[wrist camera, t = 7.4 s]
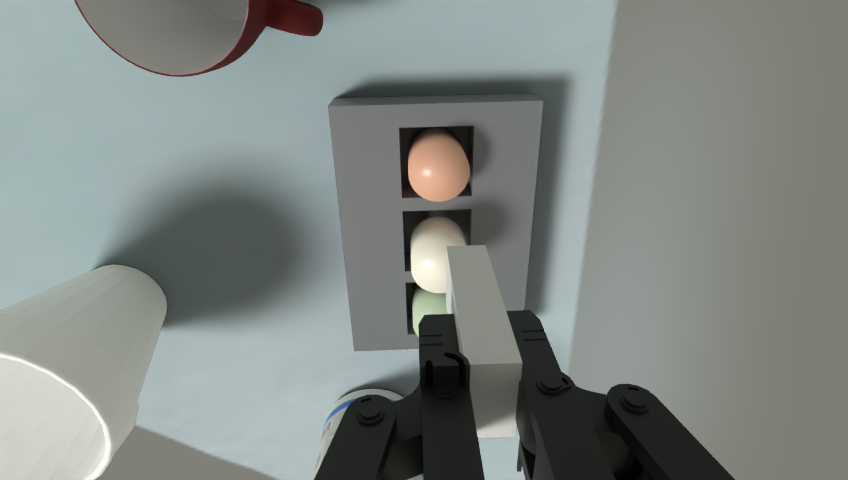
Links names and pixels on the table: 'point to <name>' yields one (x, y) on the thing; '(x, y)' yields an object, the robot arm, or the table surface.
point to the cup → (75, 372)
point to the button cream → (433, 251)
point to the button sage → (426, 304)
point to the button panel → (404, 209)
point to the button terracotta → (437, 165)
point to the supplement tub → (337, 414)
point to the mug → (192, 29)
